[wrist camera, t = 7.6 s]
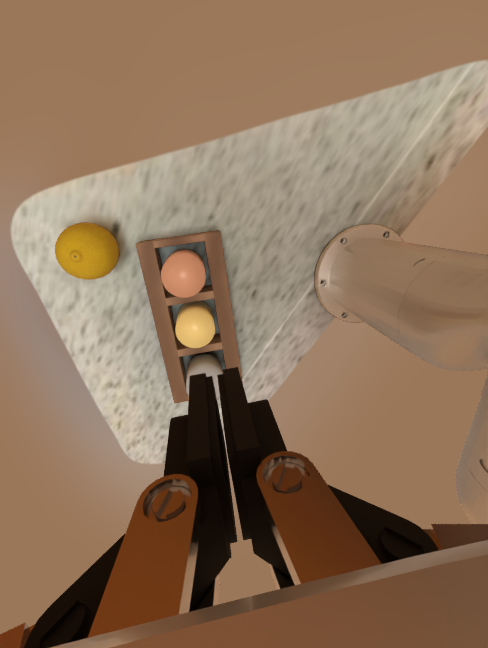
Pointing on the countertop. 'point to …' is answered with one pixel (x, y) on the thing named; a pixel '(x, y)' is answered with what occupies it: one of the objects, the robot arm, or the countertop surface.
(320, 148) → the countertop surface
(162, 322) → the wooden compartment tray
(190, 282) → the pink cylinder
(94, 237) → the lemon
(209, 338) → the yellow short cylinder
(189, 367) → the grey short rounded cylinder
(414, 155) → the countertop surface
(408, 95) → the countertop surface
